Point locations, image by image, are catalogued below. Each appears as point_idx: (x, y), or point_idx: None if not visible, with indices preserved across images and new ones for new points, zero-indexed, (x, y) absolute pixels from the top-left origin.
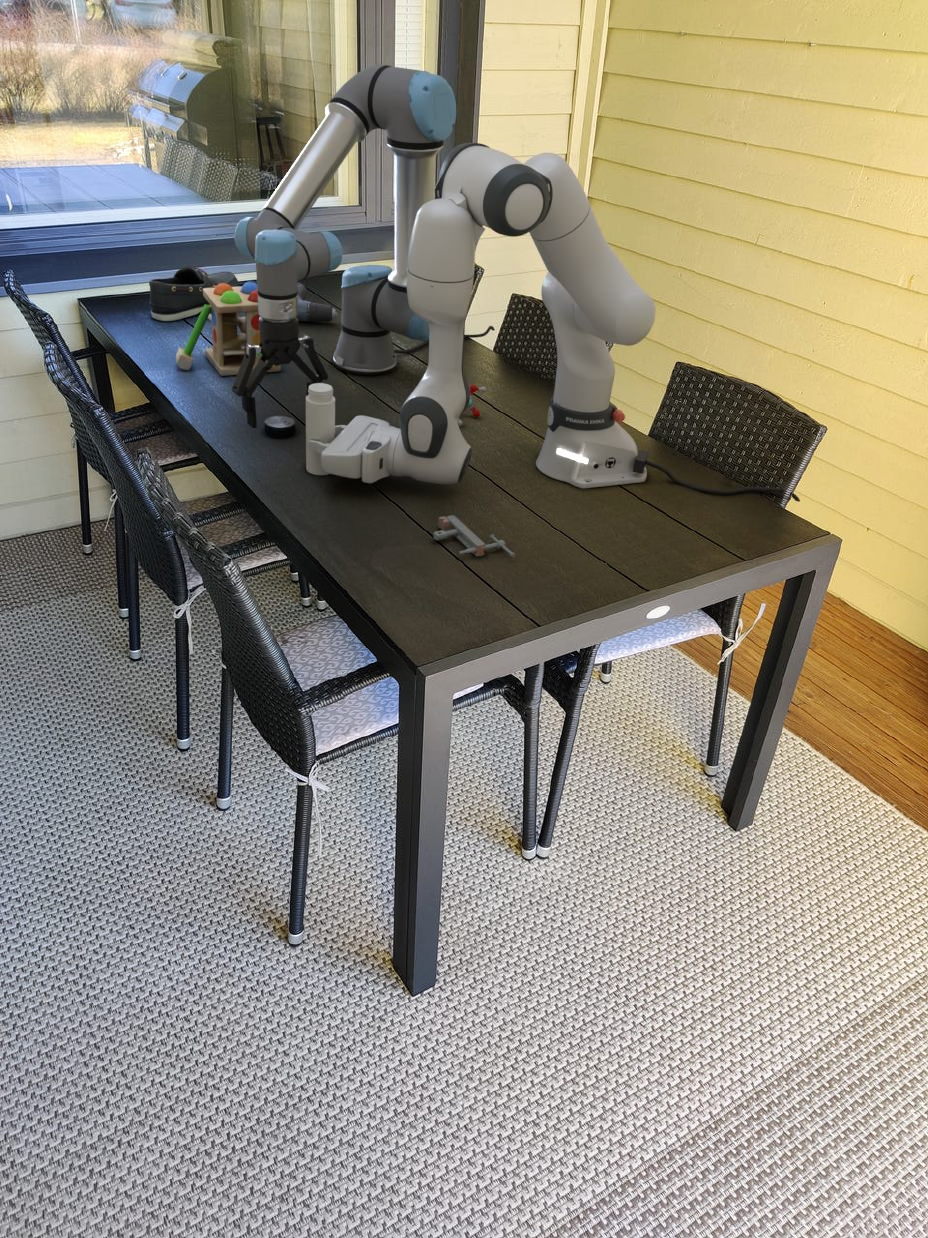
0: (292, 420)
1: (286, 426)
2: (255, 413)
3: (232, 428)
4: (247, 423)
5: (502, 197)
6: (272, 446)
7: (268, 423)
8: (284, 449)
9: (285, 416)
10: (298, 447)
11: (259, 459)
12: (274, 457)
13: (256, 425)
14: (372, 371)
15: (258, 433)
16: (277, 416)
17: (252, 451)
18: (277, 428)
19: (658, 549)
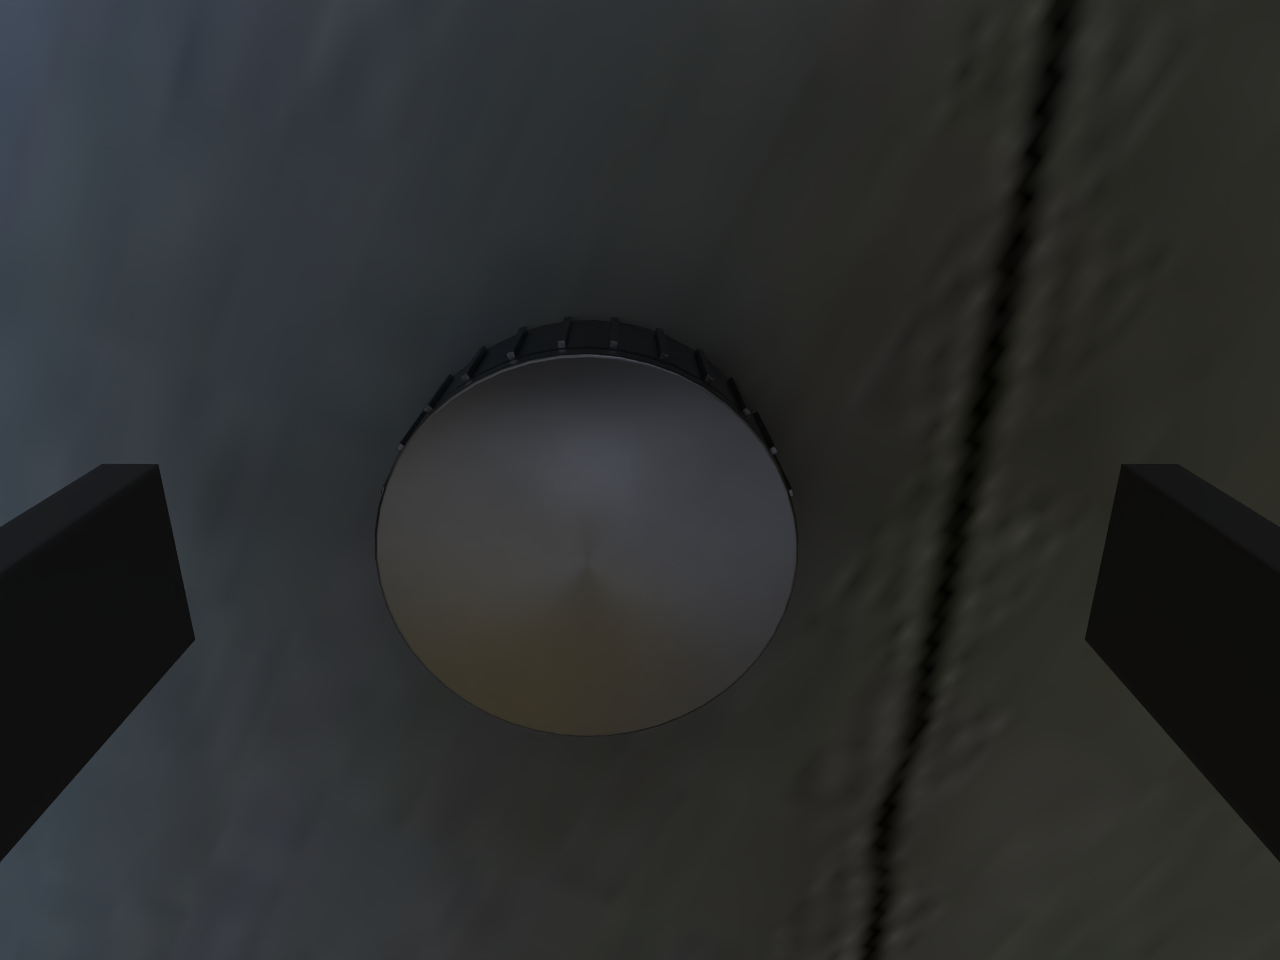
0: (766, 595)
1: (596, 721)
2: (52, 791)
3: (40, 112)
4: (101, 467)
5: None
6: (361, 760)
7: (412, 553)
8: (448, 853)
9: (752, 436)
10: (597, 866)
11: (139, 932)
12: (290, 947)
13: (173, 657)
14: None
15: (334, 413)
16: (641, 391)
17: (121, 779)
18: (474, 699)
19: None
